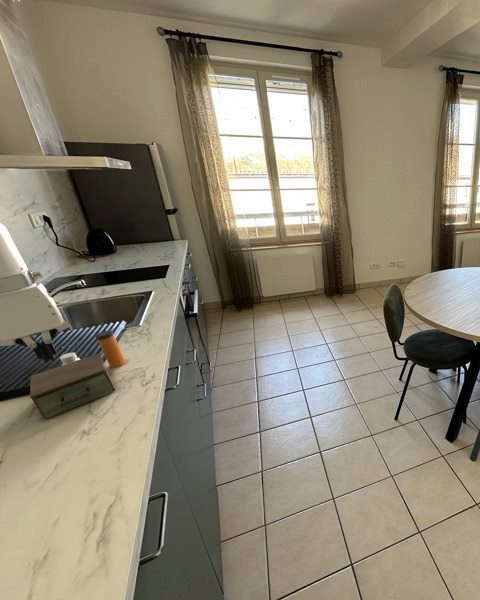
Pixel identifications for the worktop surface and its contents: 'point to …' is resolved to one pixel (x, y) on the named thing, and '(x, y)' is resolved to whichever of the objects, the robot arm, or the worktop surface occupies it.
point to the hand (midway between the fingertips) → (50, 358)
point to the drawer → (73, 395)
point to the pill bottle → (68, 358)
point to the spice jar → (110, 348)
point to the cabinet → (67, 376)
